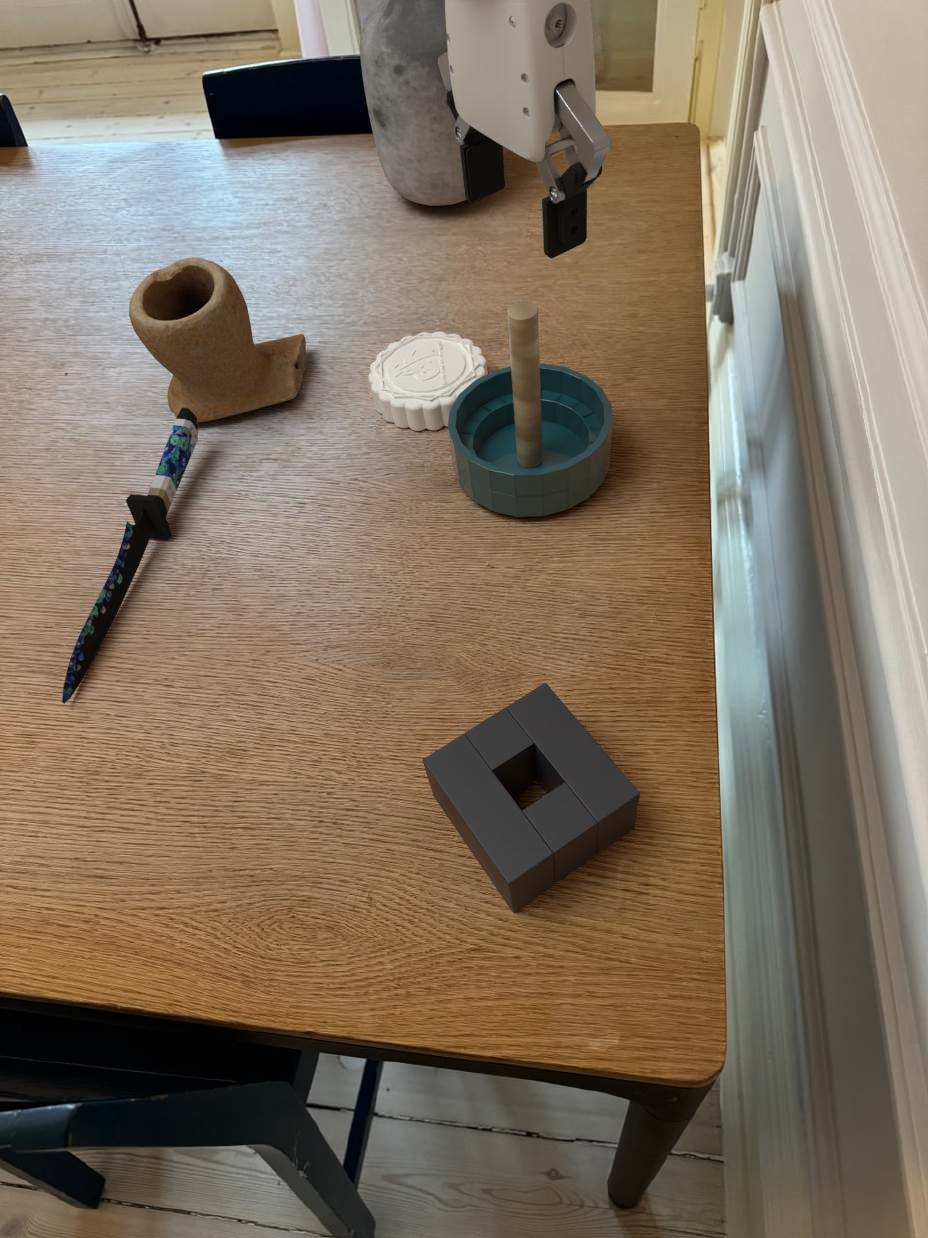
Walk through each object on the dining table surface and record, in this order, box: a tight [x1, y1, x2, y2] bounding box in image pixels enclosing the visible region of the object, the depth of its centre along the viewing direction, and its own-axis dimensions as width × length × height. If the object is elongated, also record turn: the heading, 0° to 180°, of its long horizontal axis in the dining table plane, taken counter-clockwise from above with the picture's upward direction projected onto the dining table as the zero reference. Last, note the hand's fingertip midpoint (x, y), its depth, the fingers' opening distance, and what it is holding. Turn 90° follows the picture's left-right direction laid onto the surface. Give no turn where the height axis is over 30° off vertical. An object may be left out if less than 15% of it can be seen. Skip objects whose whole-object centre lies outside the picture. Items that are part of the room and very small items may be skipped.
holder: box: [422, 682, 641, 914], centre depth 58 cm, size 10×10×6 cm
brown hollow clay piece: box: [128, 257, 307, 423], centre depth 84 cm, size 15×12×15 cm
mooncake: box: [367, 330, 489, 432], centre depth 86 cm, size 12×12×4 cm
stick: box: [506, 300, 543, 468], centre depth 73 cm, size 2×2×16 cm
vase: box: [359, 0, 504, 207], centre depth 98 cm, size 16×16×30 cm
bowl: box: [447, 362, 613, 518], centre depth 78 cm, size 14×14×6 cm
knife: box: [61, 408, 199, 704], centre depth 76 cm, size 31×3×4 cm, turn 165°
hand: (523, 220), depth 60 cm, fingers open, 9 cm apart
